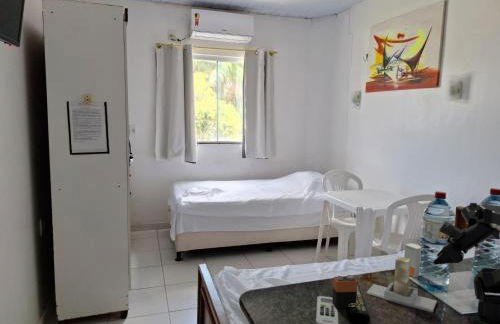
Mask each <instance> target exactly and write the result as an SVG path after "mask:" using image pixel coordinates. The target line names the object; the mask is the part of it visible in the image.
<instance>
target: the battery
mask: <svg viewBox="0 0 500 324" xmlns="http://www.w3.org/2000/svg"><path fill="white" fill-rule="evenodd" d="M332 282H333V283H332V299H331V300H332V304H333V306H334V308H336V309H348V308H347V306H348V304H350V303H356V304H357V294H358V292H357V290H358V281H357V280H356V279H355V277H354V275H351V274H347V275H346V276H343V275H342V276H341V275H338V276H334V277H333V280H332Z"/></svg>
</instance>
